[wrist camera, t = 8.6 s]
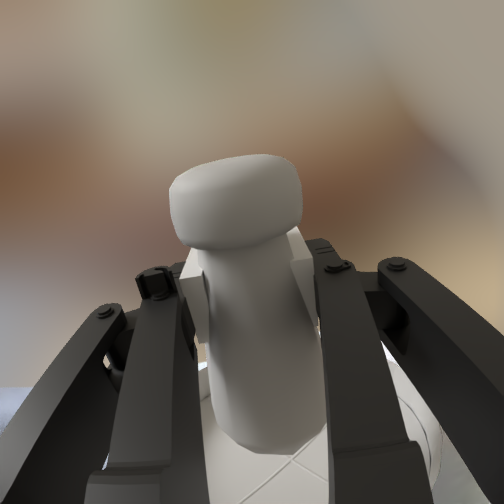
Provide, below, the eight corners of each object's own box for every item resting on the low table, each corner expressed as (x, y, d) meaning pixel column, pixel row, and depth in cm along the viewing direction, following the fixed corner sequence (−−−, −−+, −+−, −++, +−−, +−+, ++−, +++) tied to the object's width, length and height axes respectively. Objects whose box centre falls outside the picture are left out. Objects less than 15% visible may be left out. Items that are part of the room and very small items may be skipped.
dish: (119, 461, 22) (93, 431, 20) (284, 349, 35) (279, 314, 33) (297, 637, 6) (292, 646, 4) (466, 425, 19) (484, 388, 17)
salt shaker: (216, 402, 17) (145, 173, 12) (308, 374, 18) (281, 144, 13) (239, 485, 11) (126, 195, 6) (354, 444, 12) (358, 148, 7)
